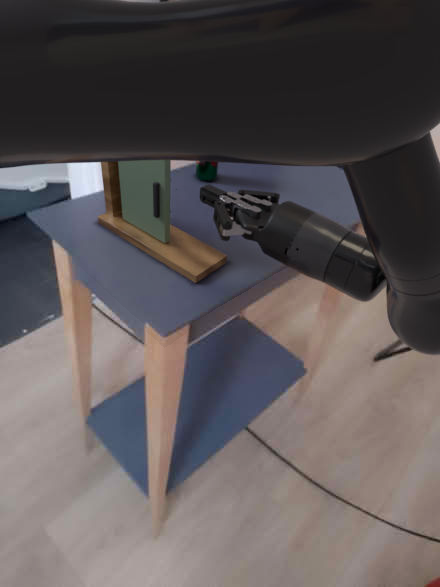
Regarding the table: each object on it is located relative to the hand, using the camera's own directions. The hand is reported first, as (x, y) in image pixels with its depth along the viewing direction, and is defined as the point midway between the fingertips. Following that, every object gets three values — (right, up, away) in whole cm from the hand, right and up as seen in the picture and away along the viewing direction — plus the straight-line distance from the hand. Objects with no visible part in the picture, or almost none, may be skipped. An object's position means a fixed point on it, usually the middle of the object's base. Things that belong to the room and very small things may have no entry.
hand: (203, 191), depth 57 cm
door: (-11, -3, +13) cm, 18 cm away
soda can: (-1, +13, +36) cm, 38 cm away
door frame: (-8, -6, +14) cm, 17 cm away
